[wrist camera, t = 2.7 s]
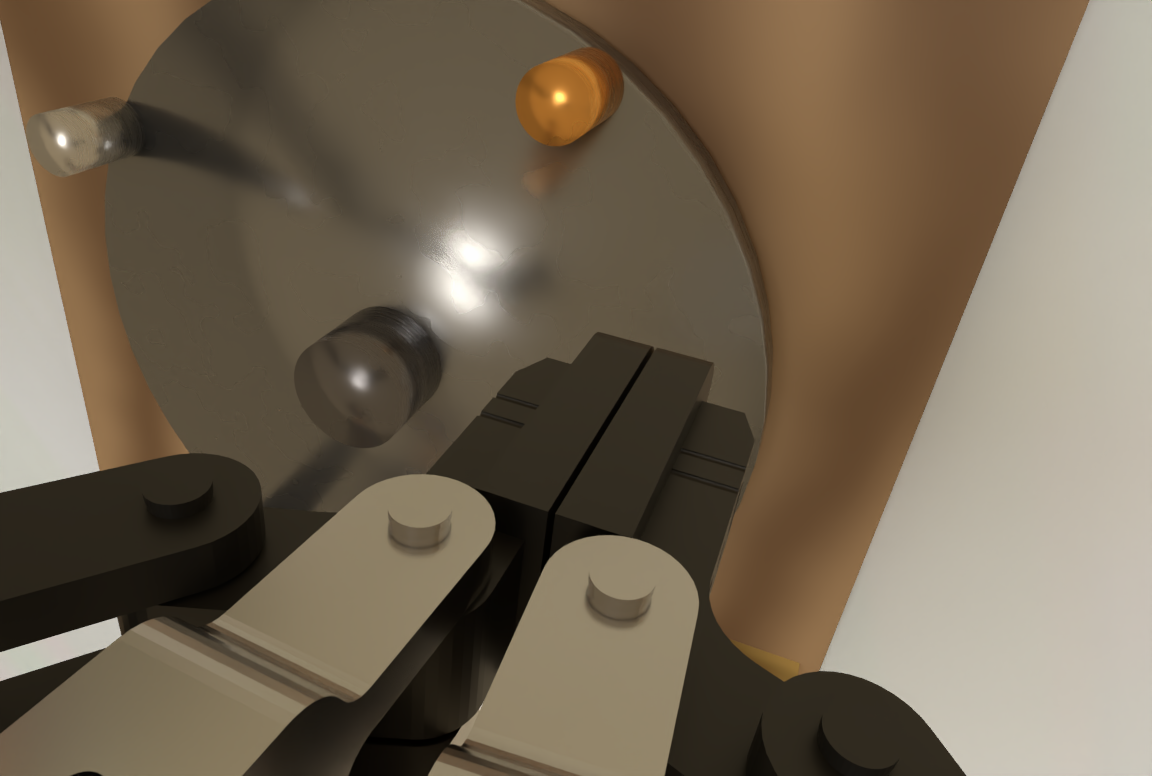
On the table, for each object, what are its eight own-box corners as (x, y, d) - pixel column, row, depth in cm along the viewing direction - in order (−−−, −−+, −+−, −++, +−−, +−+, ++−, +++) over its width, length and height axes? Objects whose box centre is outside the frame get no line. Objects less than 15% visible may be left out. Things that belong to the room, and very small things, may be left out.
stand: (135, 505, 41) (91, 539, 39) (-16, -254, 26) (-104, -269, 24) (782, 743, 34) (773, 800, 32) (1118, -106, 19) (1145, -108, 16)
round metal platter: (181, 503, 37) (107, 563, 34) (84, -100, 25) (-46, -101, 22) (690, 687, 32) (664, 779, 28) (877, 40, 20) (870, 67, 16)
